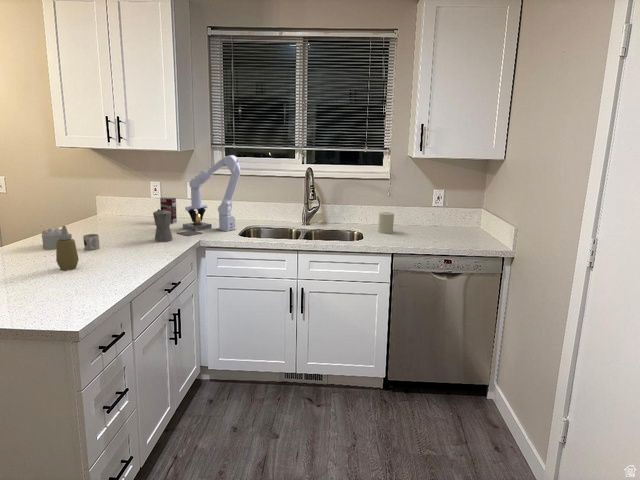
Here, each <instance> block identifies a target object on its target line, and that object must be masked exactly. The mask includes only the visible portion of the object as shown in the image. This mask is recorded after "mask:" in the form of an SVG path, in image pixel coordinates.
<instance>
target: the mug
mask: <svg viewBox="0 0 640 480" xmlns="http://www.w3.org/2000/svg"><path fill="white" fill-rule="evenodd" d="M82 238H83V247H84V251H98V250H99V249H100V248H101V247H100V239H99V238H100V235H99V234H96V233H89V234H83V237H82Z"/></svg>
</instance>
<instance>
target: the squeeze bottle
mask: <svg viewBox="0 0 640 480" xmlns="http://www.w3.org/2000/svg"><path fill="white" fill-rule="evenodd" d="M61 229H62V232H61V234H60V235H58V236H59V239H60V240H58V241H57V242H56V249H55V250H56V259H55V261H56V263H57V266H58V267H59V269H60V271H61V270H62V271H71V270H75V269H77V266H78V264H79V261H80V259H79V255H78V250H77V245H76V240H75V239H73V238H72V237H73V236H72V233H69V231H68V229H67V226H66V225H62V226H61Z"/></svg>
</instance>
